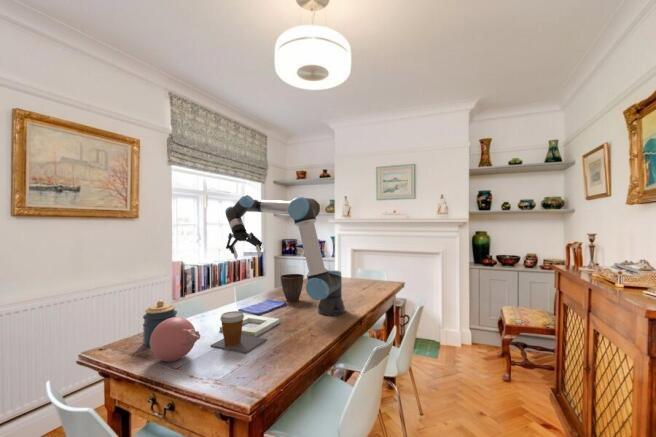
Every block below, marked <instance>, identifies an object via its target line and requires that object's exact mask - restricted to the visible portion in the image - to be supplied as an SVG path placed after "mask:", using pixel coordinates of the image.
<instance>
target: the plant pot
mask: <svg viewBox="0 0 656 437" xmlns="http://www.w3.org/2000/svg"><path fill="white" fill-rule="evenodd" d="M279 278H280V284H281V289H282V291H283V294H284V297H285V300H286V303H287V302H288V303H297V302H299V300H300V298H301V294H302V290H303V285H304V278H305V275H304V274H302V273H301V274H300V273H289V274H282V275H280V277H279Z"/></svg>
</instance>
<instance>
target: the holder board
mask: <svg viewBox="0 0 656 437" xmlns="http://www.w3.org/2000/svg"><path fill="white" fill-rule="evenodd" d="M247 323H253V324H258V325H256V326H254V327H246V326H243V325H245V324H247ZM279 324H280V318H275V317H266V316H261V315H259V316H258V315H253V314H245V315H244V318H243V324H242V332H241V335H247V336H253V337H258V336H260V335H262V334H263V333H265V332H267V331H268V330H270V329H272V328H273V327H275V326H277V325H279ZM219 332H222V333H223V329H222V325H221V326H219Z"/></svg>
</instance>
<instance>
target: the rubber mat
mask: <svg viewBox="0 0 656 437" xmlns="http://www.w3.org/2000/svg"><path fill="white" fill-rule="evenodd" d="M267 341H268V338H264V337H258V336H256V337H253V336H247V335H241V341H240V343H239V344H238V345H235V346H226V345H225V343H224V337H223V338H222V339H219V340H218V341H216V342H214V343H212V344H210V347H211V348H216V349H222V350H226V351H232V352H236V353H241V354H247V353H249V352H251V351H252V350H254V349H256V348H258V346H259V347H260V346H261V345H262V344H264V343H266V342H267Z"/></svg>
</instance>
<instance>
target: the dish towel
mask: <svg viewBox="0 0 656 437" xmlns="http://www.w3.org/2000/svg"><path fill="white" fill-rule="evenodd" d="M287 305H288V304H287V301H278V300H273V299H266V300H263V301H261V302H258V303H254V304H252V305H250V306H245V307H241V308H239V309H237V311H240V312H242V313H243V314H247V315H254V316H261V315H264V314H267V313H270V312H273V311H276V310H279V309H281V308H284V307H286V306H287Z"/></svg>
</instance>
